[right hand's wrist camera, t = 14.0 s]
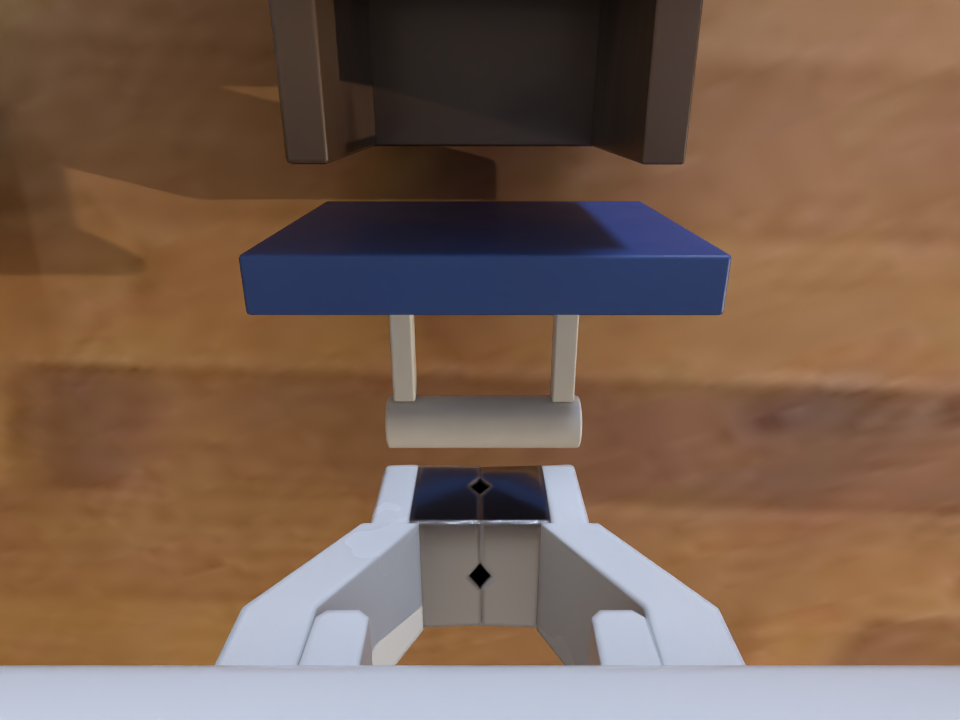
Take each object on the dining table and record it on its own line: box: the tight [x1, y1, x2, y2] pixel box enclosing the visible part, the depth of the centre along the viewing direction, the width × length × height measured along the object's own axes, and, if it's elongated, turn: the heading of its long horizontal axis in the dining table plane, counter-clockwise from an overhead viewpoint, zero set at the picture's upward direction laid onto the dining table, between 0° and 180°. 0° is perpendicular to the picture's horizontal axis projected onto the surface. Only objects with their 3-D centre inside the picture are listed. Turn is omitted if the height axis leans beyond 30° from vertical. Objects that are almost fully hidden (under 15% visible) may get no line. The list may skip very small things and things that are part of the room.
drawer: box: [239, 0, 731, 448], centre depth 14 cm, size 17×9×7 cm, turn 0°
